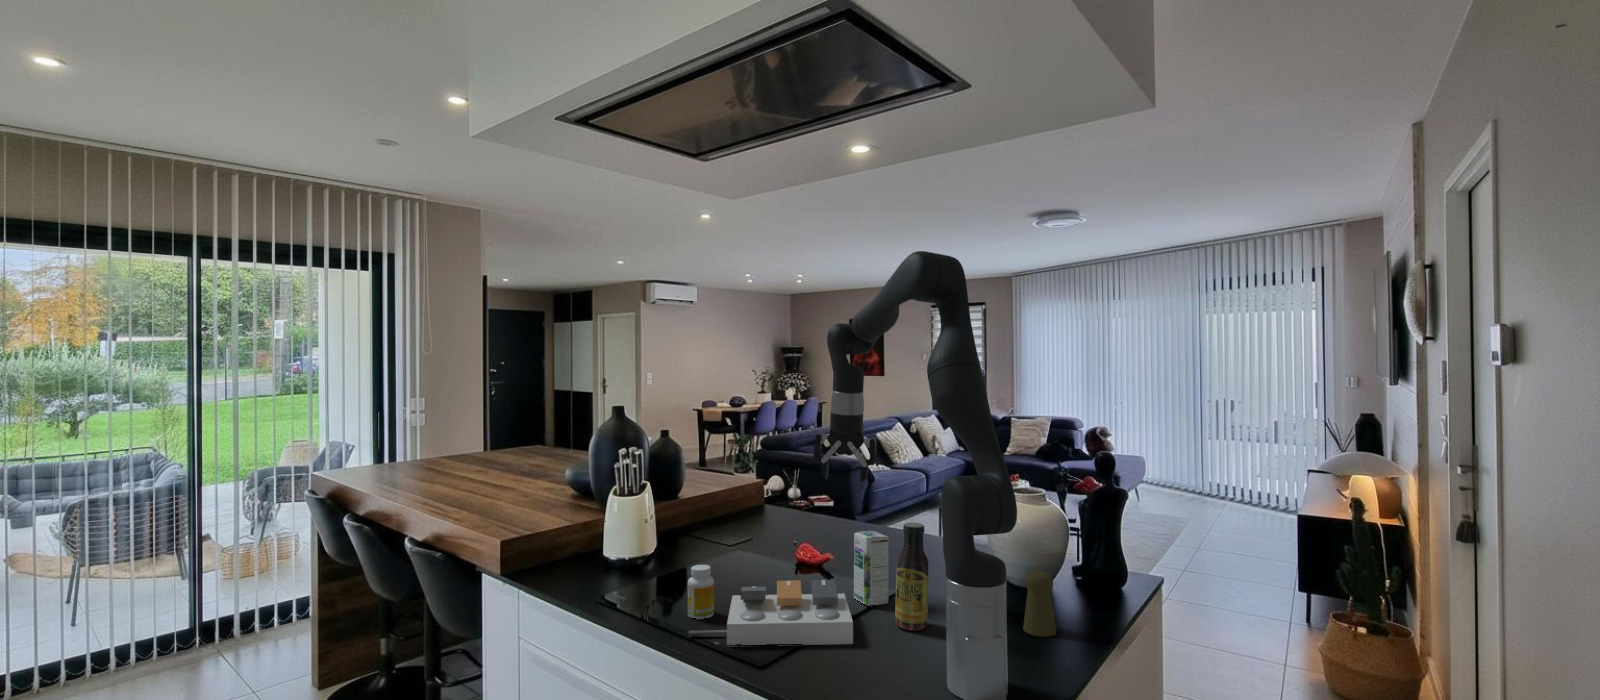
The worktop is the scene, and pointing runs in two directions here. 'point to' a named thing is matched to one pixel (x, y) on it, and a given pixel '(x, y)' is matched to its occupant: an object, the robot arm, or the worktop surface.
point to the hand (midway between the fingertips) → (843, 480)
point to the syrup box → (871, 568)
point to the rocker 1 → (753, 594)
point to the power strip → (786, 623)
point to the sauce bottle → (912, 580)
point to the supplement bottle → (700, 592)
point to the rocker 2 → (789, 593)
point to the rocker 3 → (824, 592)
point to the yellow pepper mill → (1039, 605)
